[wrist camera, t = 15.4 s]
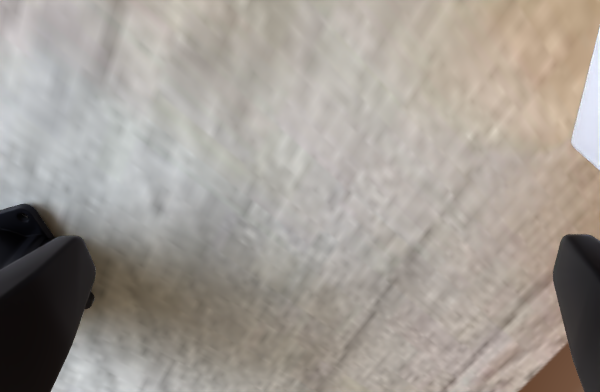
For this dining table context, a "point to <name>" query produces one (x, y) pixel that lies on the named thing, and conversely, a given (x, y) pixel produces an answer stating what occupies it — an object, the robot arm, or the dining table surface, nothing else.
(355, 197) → the dining table surface
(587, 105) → the medicine bottle
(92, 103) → the dining table surface
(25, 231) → the robot arm
